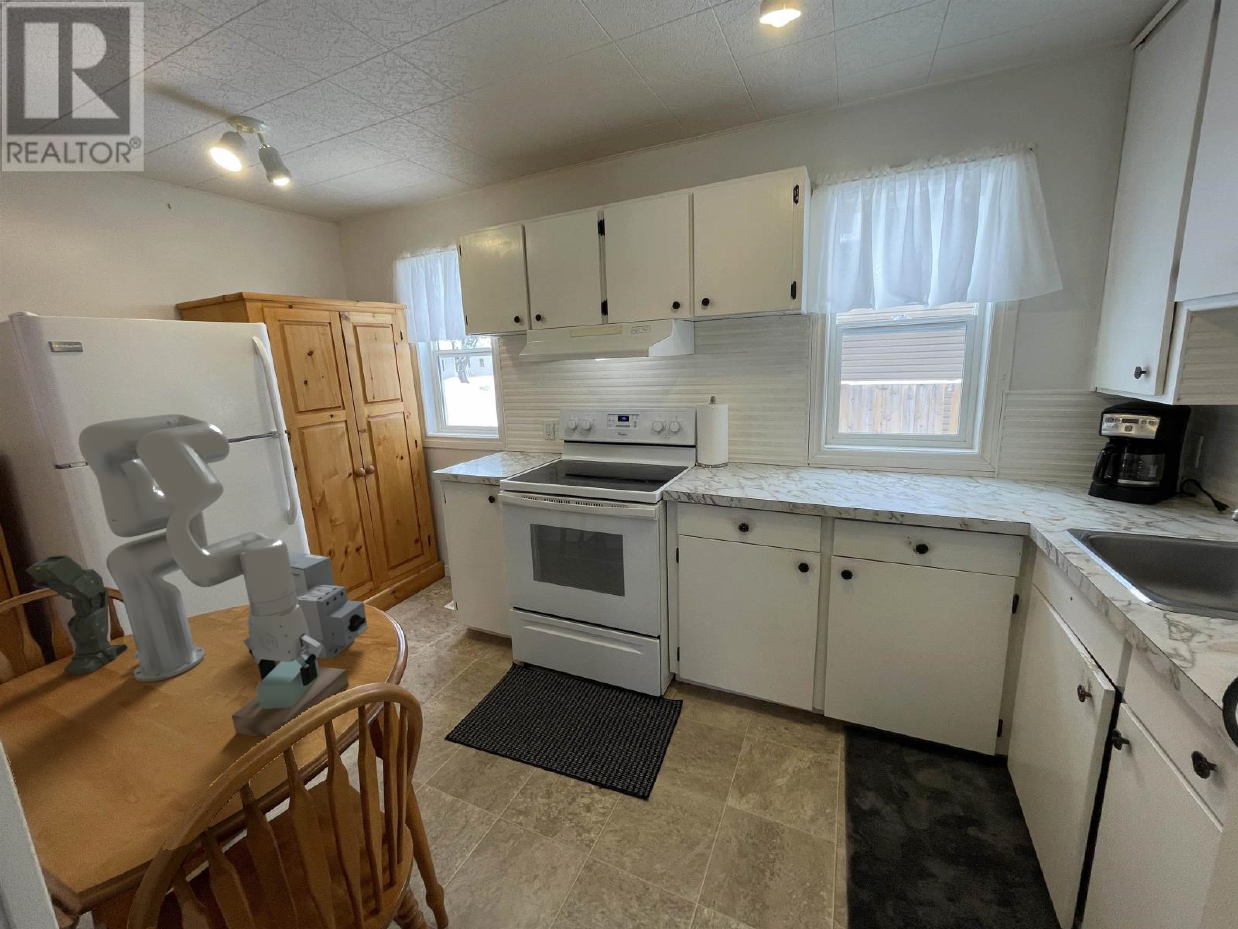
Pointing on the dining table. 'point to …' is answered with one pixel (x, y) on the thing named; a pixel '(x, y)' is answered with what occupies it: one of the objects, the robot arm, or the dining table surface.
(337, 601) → the circuit breaker
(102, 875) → the dining table surface
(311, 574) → the grey switch module
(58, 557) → the mechanical leg
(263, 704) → the light teal rectangular block
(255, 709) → the stand
